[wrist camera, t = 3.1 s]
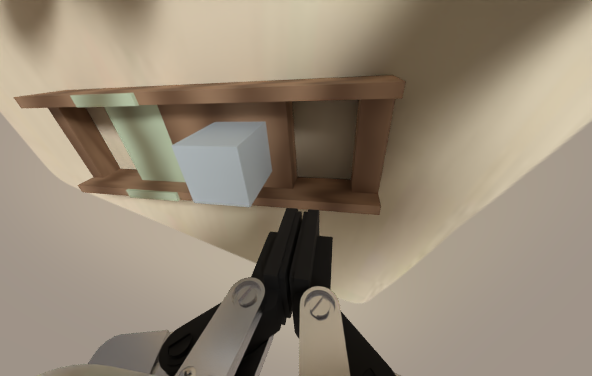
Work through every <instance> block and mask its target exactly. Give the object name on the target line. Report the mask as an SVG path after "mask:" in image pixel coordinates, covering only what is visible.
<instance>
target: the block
mask: <svg viewBox="0 0 592 376" xmlns="http://www.w3.org/2000/svg"><path fill="white" fill-rule="evenodd" d="M171 146H172V149H173V151H174V154H175V156H176V159H177V161H178V164H179V167H180V169H181V172H182V174H183V177H184V179H185V182H186V184H187V187H188V189H189V192H190V194H191V197H192V199H193V202H194V203H203V204H216V205H229V206H241V207H251V205H252V204H253V202H254V200H255V199H256V197H257V195H258V194H259V192H260V190H261V189H262V187H263V186H264V184H265V182H266V181H267V179H268V177H269V176H270V174H271V172H272V165H271V158H270V151H269V143H268V136H267V128H266V122H214V123H212V124H210V125H208V126H206V127H205V128H203V129H201V130H199V131H197V132H195V133H193V134H192V135H190V136H188V137H186V138H184V139H182V140H181V141H179V142H177V143H175V144H173V145H171Z"/></svg>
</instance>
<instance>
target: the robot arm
mask: <svg viewBox="0 0 592 376" xmlns="http://www.w3.org/2000/svg"><path fill="white" fill-rule="evenodd" d="M332 239H333V237H325V236H319V210H312V209H308V212H304V214H303V219H302V213H301V212H300V211H298V209H297V208H287V209H286V211H285V214H284V217H283V219H282V222H281V225H280V228H279V231H278V232H270V233H269V235H268V237H267V239H266V242H265V244H264V247H263V249H262V252H261V254H260V257H259V259H258V261H257V264H256V266H255V269H254V271H253V274H252V276H251V277H248V278H244V279H241V280H240V281H238V282H237V283H235V284H234V285H233V286H232V288H231V289H230V290H229V292H228V294H227V295H226V297H225V298H224V300H223V301H222V303H220V304H218V305H216V306H215V307H213V308H211V309H210V310H208V311H206V312H205V313H203V314H201V315H200V316H198V317H196V318H195V319H193V320H191V321H190V322H188V323H186V324H185V325H183V326H181V327H180V328H178V329H177V330H175V331H174V332H169V331H168V330H162V331H152V332H143V333H131V334H121V335H118V336H114V337H113V338H111V339H109V340H108V341H106V342H105V343H104V344H103V345H102V346H100V347H99V349H98V350H97V351H96V352H95V354H94V355H93V357H92V358H91V360H90V361H89V363H88V364H80V365H72V366H66V367H61V368H57V369H54V370H51V371H48V372H45V373H43V374H40V375H37V376H259V375H260V372H261V369H262V367H263V364H264V361H265V358H266V356H267V353H268V351H269V348H270V345H271V343H272V340H273V336H274V334H275V333H276V332H278V331H279V330H280V328H281V324H282V325H285V323H286V318H290V317H291V314H292V312H293V320H294V329H295V333H296V335H297V336H298V338H299V376H401V375H399V374H397V373H394V372H393V371H392V369H391V368H390V367H389V366H388V364H387V363H386V362H385V361H384V360H383V359H382V358H381V356H380V355H379V354H378V353H377V352H376V351H375V350H374V348H373V347H372V346H371V345H370V344H369V343H368V342H367V340H366V339H365V338H364V337H363V336H362V335H361V334H360V333H359V331H358V330H357V329H356V328H355V327H354V326H353V325H352V323H351V322H350V321H349V320H348V319H347V318H346V317H345V315H344V314H343V313H342V312H341V310H340V304H339V301H338V298H337V296H336V295H335V293H333V292H332V291H331V290H330V285H331V262H332Z"/></svg>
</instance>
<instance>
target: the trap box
mask: <svg viewBox="0 0 592 376" xmlns="http://www.w3.org/2000/svg"><path fill="white" fill-rule="evenodd" d="M405 83H406V82H405V81H404V80H402V79H400V78H398V77H396V76H394V75H382V76H361V77H339V78H318V79H297V80H275V81H254V82H232V83H211V84H189V85H168V86H146V87H125V88H103V89H82V90H63V91H56V92H49V93H42V94H35V95H28V96H20V97H14V99H15V100H16V101H17V103H18V104H19V106H20V107H21V108H48V109H49V110H50V112H51V114H52V115H53V117H54V118H55V120H56V121H57V123H58V124H59V126H60V127H61V129H62V130H63V132H64V133H65V135H66V136H67V138H68V139H69V141H70V142H71V144H72V145H73V147H74V148H75V150H76V151H77V153H78V154H79V156H80V157H81V159H82V160H83V162H84V163H85V165H86V166H87V168H88V169H89V171H90V172H91V174H92V175H93V178H91V179H89V180H87V181H85V182H83V183H81V184H79V185H78V186H79V188H80V189H81V191H82V192H87V193H100V194H113V195H126V196H130V197H131V198H144V199H157V200H169V201H179V200H192V201H193V199H192V197H191V194H190V192H189V189H188V187H187V184H186V182H185V179H184V177H183V174H182V172H181V169H180V167H179V164H178V161H177V159H176V156H175V154H174V151H173V149H172V146H171V145H173V144H175V143H177V142H179V141H181V140H182V139H184V138H186V137H188V136H190V135H192V134H193V133H195V132H197V131H199V130H201V129H203V128H205V127H206V126H208V125H210V124H212V123H214V122H266V128H267V136H268V143H269V151H270V158H271V165H272V172H271V174H270V176H269V177H268V179H267V181H266V182H265V184H264V186H263V187H262V189H261V190H260V192H259V194H258V195H257V197H256V199H255V200H254V202H253V204H252V205H257V206H270V207H283V208H297V209H312V210H322V211H335V212H348V213H361V214H374V215H379V213H380V208H381V205H380V200H379V196H378V191H379V186H380V180H381V175H382V169H383V164H384V158H385V153H386V147H387V142H388V136H389V131H390V125H391V120H392V114H393V109H394V104H395V99H398V98H403V93H404V88H405ZM321 100H358V111H357V122H356V132H355V143H354V153H353V164H352V174H351V180H350V179H328V178H307V177H297V165H296V150H295V134H294V118H293V103H292V101H321ZM85 107H104V108H105V110H106V112H107V114H108V115H109V117H110V119H111V121H112V123H113V125H114V127H115V129H116V131H117V133H118V134H119V136H120V138H121V140H122V142H123V144H124V146H125V148H126V150H127V152H128V154H129V155H130V157H131V159H132V161H133V163H134V165H135V167H136V169H137V170H135V169H120V168H119V166H118V164H117V162H116V161H115V159H114V157H113V155H112V154H111V152H110V150H109V148H108V147H107V145H106V143H105V141H104V140H103V138H102V136H101V134H100V133H99V131H98V129H97V127H96V126H95V124H94V122H93V120H92V119H91V117H90V115H89V113H88V112H87V110H86V108H85Z"/></svg>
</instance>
